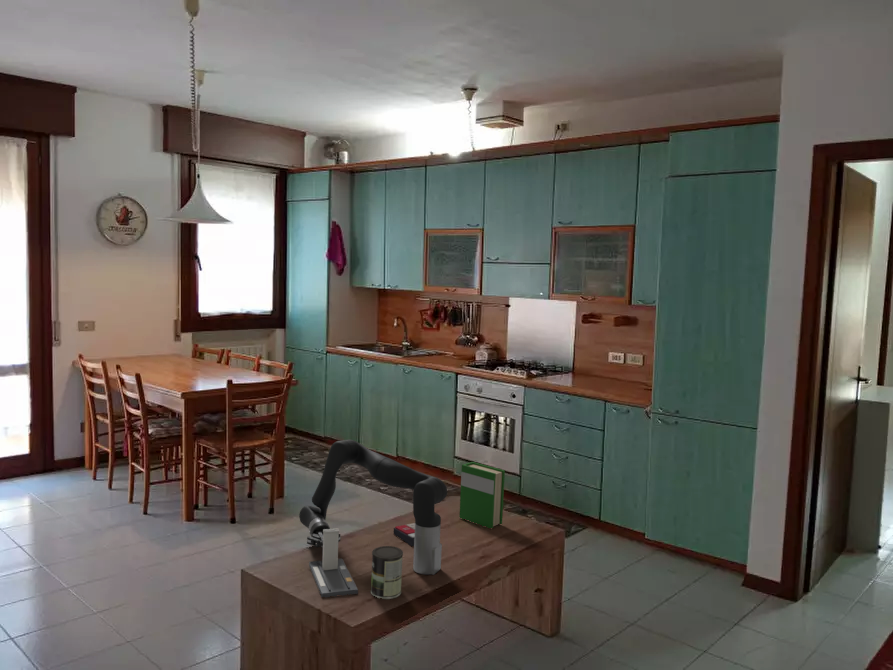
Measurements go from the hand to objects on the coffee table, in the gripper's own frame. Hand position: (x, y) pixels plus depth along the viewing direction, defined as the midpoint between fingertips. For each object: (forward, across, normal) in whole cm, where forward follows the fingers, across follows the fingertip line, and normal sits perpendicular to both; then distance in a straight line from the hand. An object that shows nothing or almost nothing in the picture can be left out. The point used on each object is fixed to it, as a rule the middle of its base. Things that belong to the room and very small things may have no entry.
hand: (328, 547), depth 260 cm
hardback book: (-31, +72, +8) cm, 79 cm away
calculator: (-20, +39, +8) cm, 44 cm away
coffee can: (+24, +15, +8) cm, 29 cm away
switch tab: (+5, 0, +6) cm, 7 cm away
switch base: (+10, 0, +8) cm, 12 cm away
